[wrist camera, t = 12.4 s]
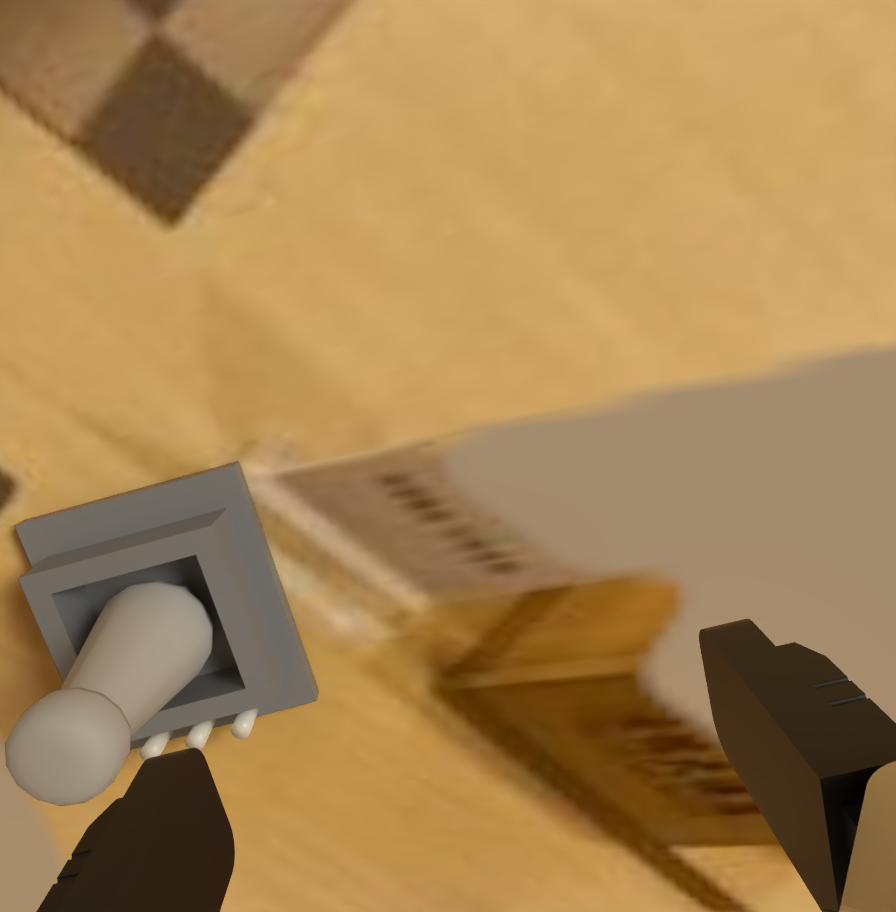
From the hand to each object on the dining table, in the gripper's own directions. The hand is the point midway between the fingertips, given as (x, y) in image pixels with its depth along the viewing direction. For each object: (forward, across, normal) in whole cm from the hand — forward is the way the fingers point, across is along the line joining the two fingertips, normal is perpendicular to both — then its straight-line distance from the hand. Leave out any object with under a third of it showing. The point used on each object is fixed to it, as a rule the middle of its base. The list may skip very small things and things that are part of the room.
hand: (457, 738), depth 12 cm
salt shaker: (+27, +17, +7) cm, 33 cm away
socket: (+28, +17, +7) cm, 34 cm away
